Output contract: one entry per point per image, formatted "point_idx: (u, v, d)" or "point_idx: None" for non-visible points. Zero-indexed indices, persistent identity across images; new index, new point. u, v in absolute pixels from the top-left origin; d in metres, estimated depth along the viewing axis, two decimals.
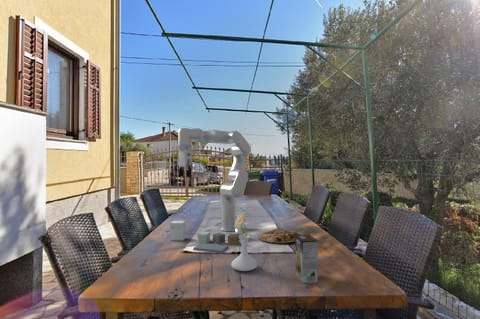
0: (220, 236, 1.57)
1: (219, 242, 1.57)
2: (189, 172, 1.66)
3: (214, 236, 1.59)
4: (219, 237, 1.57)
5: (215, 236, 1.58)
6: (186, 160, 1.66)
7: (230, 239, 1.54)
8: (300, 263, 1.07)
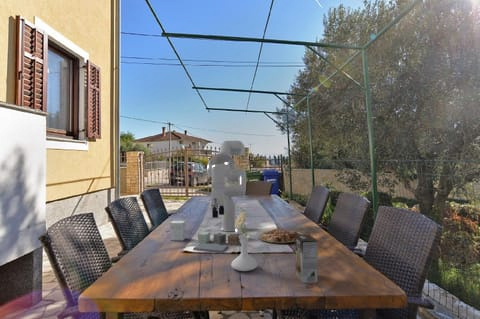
0: (221, 236, 1.57)
1: (220, 242, 1.56)
2: None
3: (215, 236, 1.58)
4: (220, 237, 1.56)
5: (216, 236, 1.57)
6: None
7: (230, 239, 1.54)
8: (300, 263, 1.07)
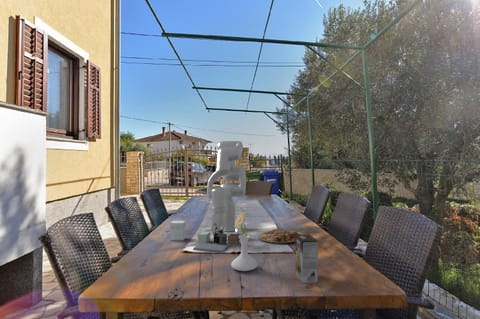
0: (222, 236, 1.57)
1: (221, 242, 1.56)
2: None
3: None
4: (221, 237, 1.56)
5: None
6: None
7: (230, 239, 1.54)
8: (300, 263, 1.07)
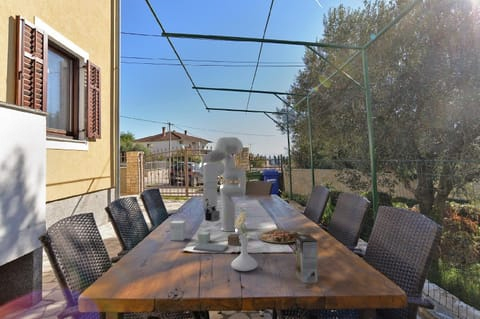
0: (214, 213, 1.46)
1: (213, 219, 1.45)
2: None
3: None
4: (213, 214, 1.46)
5: None
6: None
7: (230, 239, 1.54)
8: (300, 263, 1.07)
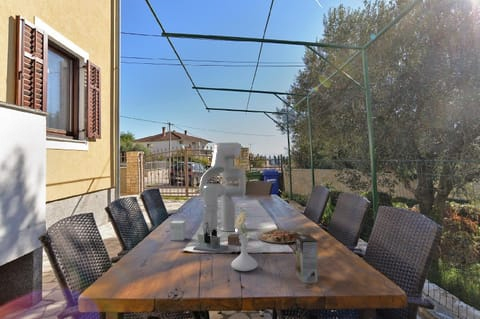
0: (215, 240, 1.46)
1: (214, 246, 1.46)
2: None
3: None
4: (214, 241, 1.46)
5: None
6: None
7: (230, 239, 1.54)
8: (300, 263, 1.07)
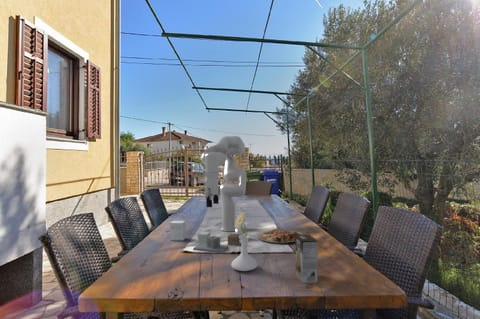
0: (215, 240, 1.46)
1: (214, 246, 1.46)
2: None
3: (208, 240, 1.47)
4: (214, 241, 1.46)
5: (209, 240, 1.47)
6: None
7: (230, 239, 1.54)
8: (300, 263, 1.07)
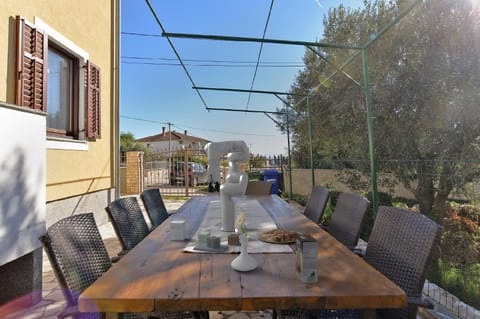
0: (215, 240, 1.46)
1: (214, 246, 1.45)
2: None
3: (208, 240, 1.47)
4: (214, 241, 1.46)
5: (210, 240, 1.47)
6: None
7: (230, 239, 1.54)
8: (300, 263, 1.07)
